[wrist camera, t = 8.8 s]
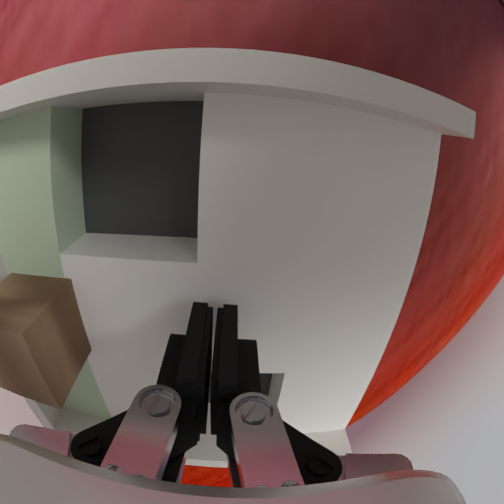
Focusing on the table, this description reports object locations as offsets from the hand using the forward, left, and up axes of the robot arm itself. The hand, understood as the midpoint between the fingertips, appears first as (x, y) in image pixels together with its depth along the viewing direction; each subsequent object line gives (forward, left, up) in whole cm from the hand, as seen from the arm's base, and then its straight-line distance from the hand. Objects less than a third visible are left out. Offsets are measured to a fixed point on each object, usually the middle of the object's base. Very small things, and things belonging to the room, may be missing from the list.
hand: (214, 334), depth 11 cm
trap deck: (+2, 0, -4) cm, 4 cm away
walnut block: (+8, +1, -1) cm, 8 cm away
